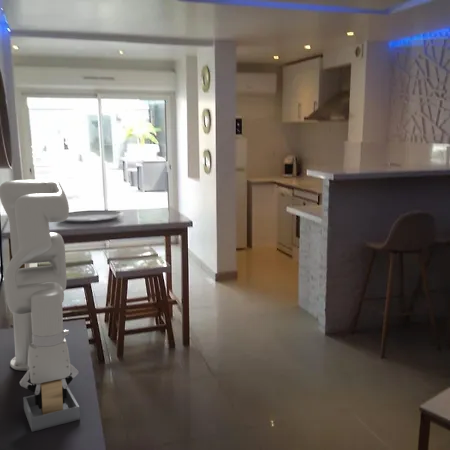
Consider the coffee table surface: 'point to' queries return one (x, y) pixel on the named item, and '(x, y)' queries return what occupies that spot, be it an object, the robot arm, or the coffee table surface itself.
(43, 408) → the oak block
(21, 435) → the coffee table surface
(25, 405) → the tray
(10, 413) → the coffee table surface
